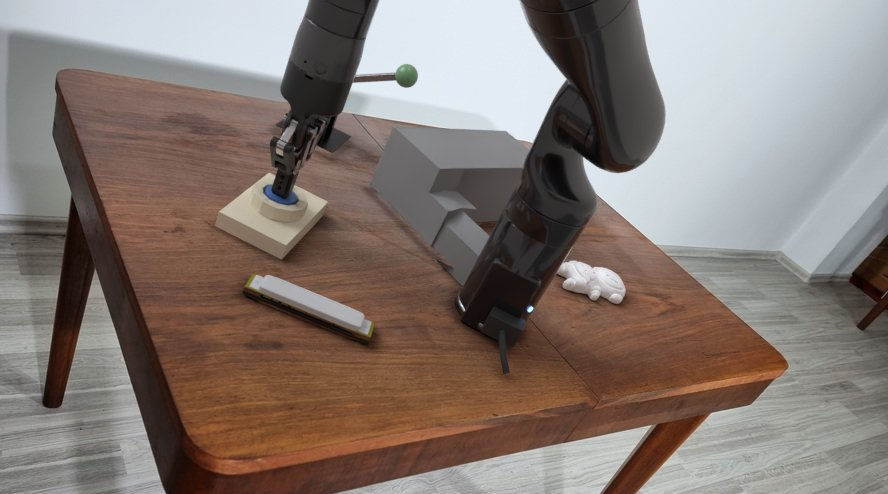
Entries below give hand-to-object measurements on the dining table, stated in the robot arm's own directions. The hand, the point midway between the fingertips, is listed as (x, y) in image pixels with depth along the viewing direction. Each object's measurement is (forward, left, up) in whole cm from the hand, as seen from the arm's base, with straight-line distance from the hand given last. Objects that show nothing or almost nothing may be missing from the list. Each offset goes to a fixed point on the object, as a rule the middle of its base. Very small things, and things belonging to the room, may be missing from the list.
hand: (280, 194), depth 88 cm
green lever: (+28, 0, +7) cm, 29 cm away
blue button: (0, 0, -2) cm, 2 cm away
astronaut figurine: (+24, -43, -4) cm, 50 cm away
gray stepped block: (+23, -24, -4) cm, 33 cm away
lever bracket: (+28, +6, -4) cm, 29 cm away
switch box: (0, 0, -4) cm, 4 cm away
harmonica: (-14, -11, -4) cm, 18 cm away
